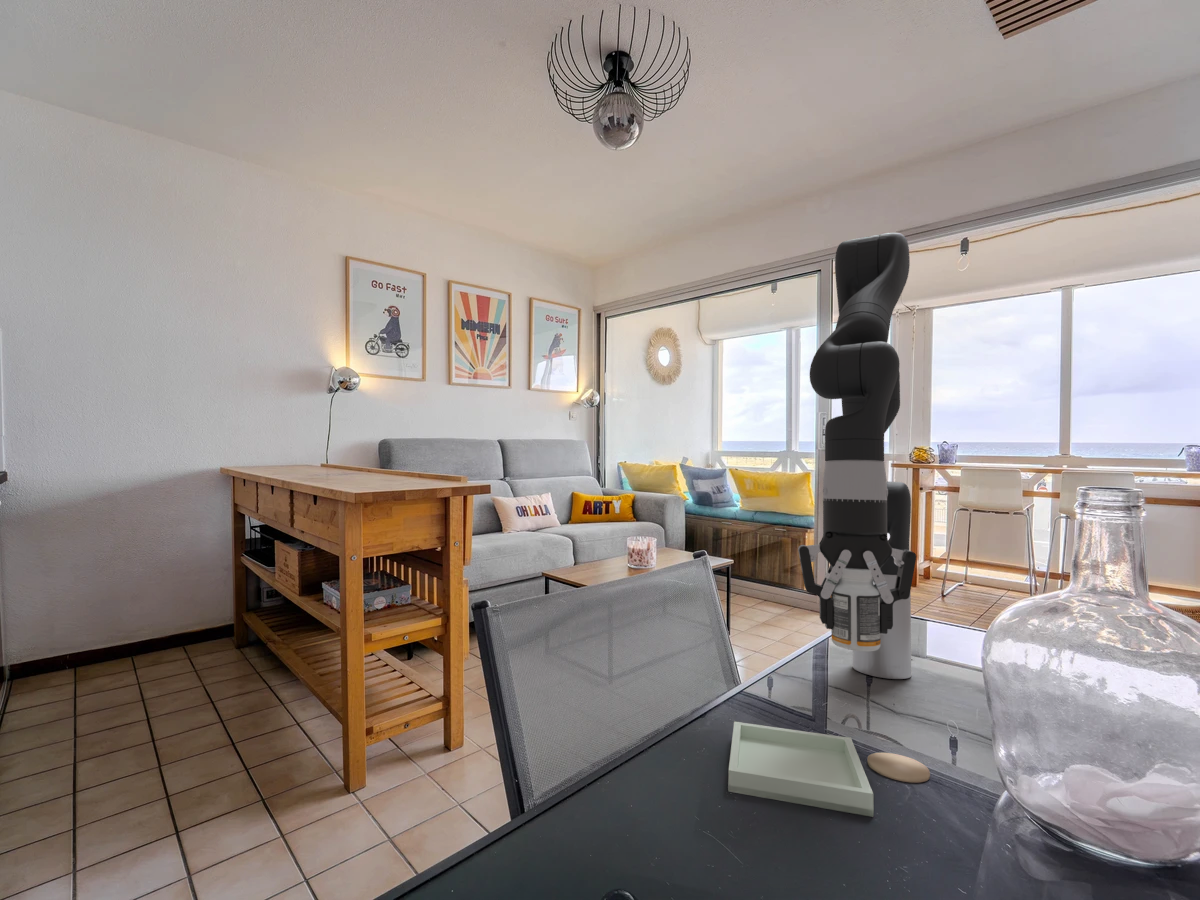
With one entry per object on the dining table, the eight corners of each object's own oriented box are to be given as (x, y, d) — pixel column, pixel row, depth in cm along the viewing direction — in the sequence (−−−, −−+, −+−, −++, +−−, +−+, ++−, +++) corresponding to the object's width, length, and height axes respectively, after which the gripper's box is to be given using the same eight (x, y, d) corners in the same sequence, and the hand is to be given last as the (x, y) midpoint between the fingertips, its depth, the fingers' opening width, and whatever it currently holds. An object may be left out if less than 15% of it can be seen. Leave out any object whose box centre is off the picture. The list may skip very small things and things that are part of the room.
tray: (733, 738, 67) (734, 721, 67) (851, 756, 64) (851, 737, 64) (728, 791, 55) (728, 770, 55) (873, 816, 51) (873, 794, 51)
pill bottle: (877, 643, 72) (876, 566, 73) (883, 655, 67) (883, 571, 68) (829, 638, 74) (829, 563, 75) (832, 649, 69) (832, 568, 70)
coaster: (863, 752, 65) (863, 749, 65) (921, 761, 63) (921, 757, 63) (873, 776, 59) (873, 772, 59) (937, 786, 57) (937, 782, 57)
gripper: (908, 498, 74) (910, 628, 72) (793, 495, 78) (793, 618, 76) (925, 498, 66) (927, 643, 65) (797, 495, 70) (797, 631, 69)
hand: (855, 629), depth 71 cm, fingers closed on pill bottle, 5 cm apart
